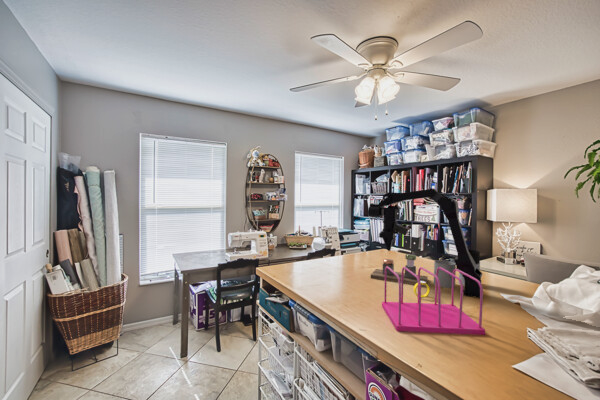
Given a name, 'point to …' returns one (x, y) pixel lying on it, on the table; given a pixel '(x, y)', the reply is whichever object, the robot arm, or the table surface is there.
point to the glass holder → (476, 259)
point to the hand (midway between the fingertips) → (389, 250)
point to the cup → (444, 273)
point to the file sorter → (432, 310)
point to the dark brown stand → (407, 276)
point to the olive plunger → (410, 260)
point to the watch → (422, 284)
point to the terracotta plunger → (388, 261)
